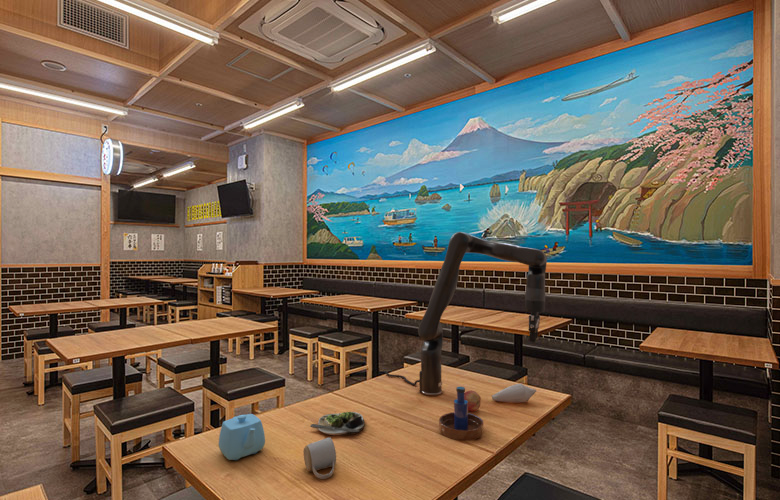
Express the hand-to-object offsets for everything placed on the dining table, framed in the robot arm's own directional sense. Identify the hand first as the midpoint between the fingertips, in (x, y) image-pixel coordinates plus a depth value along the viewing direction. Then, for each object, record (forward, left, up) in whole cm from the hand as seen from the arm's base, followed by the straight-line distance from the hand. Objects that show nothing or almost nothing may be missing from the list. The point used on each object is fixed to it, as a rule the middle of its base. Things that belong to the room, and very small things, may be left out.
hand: (533, 339), depth 151 cm
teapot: (-78, -76, -28) cm, 112 cm away
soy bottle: (-21, -31, -27) cm, 46 cm away
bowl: (-21, -31, -28) cm, 46 cm away
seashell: (-10, +6, -28) cm, 31 cm away
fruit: (-23, -12, -28) cm, 38 cm away
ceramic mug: (-50, -72, -28) cm, 92 cm away
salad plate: (-61, -46, -28) cm, 81 cm away
